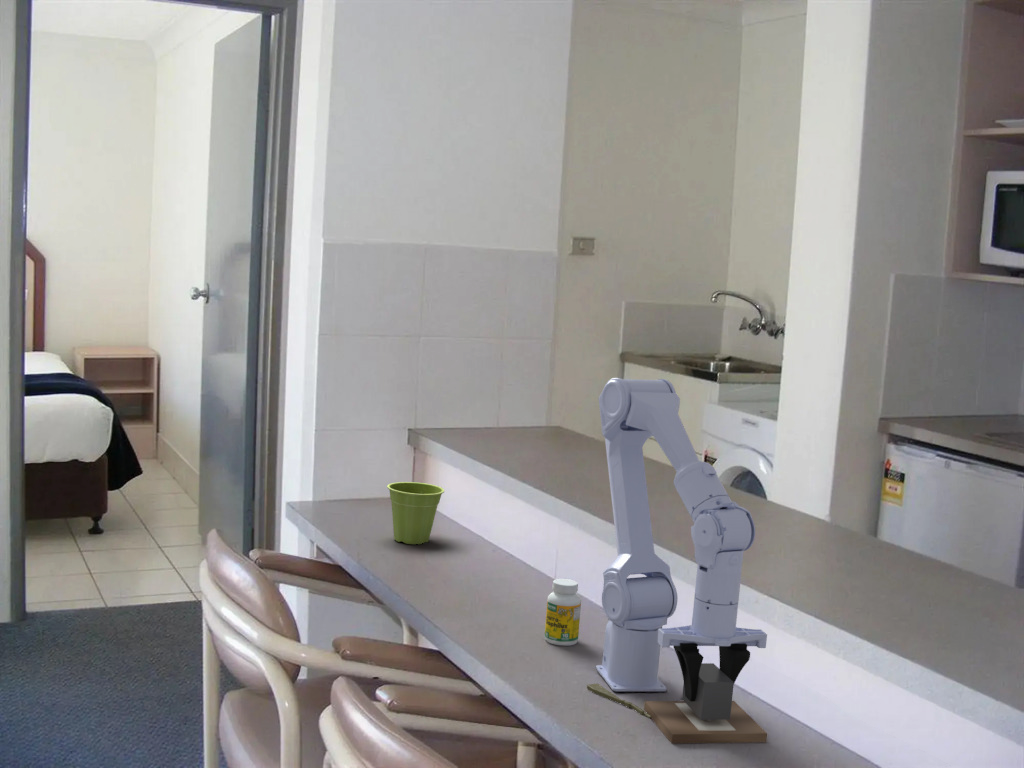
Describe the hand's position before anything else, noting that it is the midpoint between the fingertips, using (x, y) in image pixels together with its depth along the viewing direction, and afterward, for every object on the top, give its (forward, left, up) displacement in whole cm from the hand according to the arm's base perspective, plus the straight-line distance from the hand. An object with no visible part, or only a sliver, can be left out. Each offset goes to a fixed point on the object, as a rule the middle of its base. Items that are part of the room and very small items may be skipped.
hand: (706, 698), depth 153 cm
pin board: (0, 0, -4) cm, 4 cm away
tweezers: (-8, -9, -4) cm, 13 cm away
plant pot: (-95, -27, -4) cm, 99 cm away
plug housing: (0, 0, -1) cm, 1 cm away
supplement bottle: (-33, -11, -4) cm, 35 cm away
